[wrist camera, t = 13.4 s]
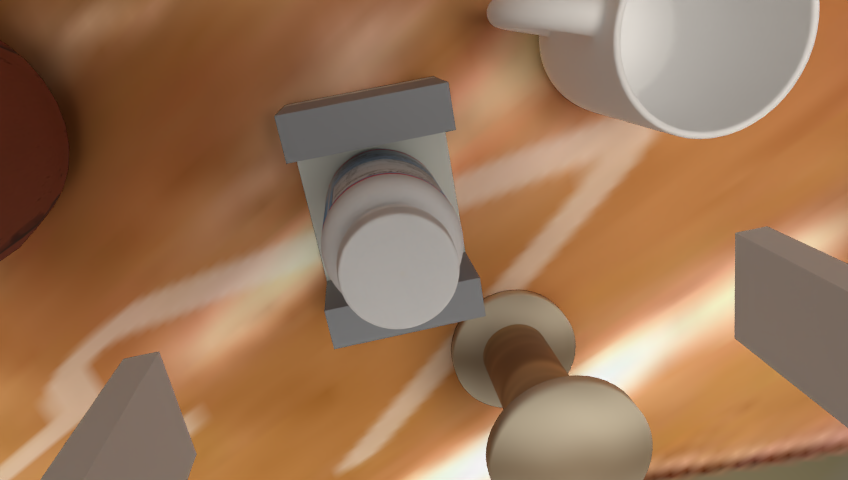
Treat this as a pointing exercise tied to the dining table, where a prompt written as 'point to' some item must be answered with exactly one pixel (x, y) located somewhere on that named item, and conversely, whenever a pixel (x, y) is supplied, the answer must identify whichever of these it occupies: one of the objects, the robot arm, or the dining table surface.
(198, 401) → the dining table surface
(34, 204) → the potted plant
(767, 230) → the robot arm
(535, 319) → the wooden thread spool
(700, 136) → the mug
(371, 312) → the pill bottle
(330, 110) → the notch board
